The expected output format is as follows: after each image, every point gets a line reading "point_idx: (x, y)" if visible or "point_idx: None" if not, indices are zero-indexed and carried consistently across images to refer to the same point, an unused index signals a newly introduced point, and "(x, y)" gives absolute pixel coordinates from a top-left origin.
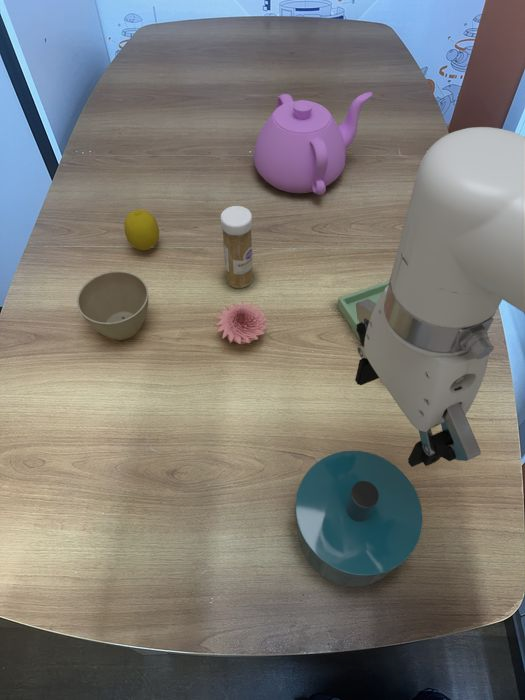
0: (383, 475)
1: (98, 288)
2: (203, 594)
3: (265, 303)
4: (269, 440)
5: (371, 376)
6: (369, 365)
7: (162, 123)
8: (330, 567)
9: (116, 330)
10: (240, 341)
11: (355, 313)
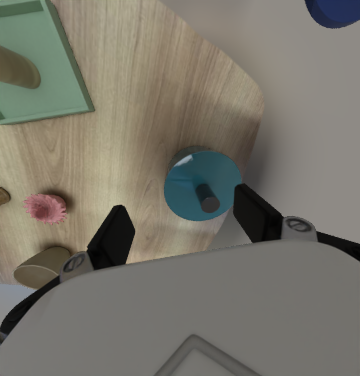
0: (187, 169)
1: (32, 276)
2: (199, 232)
3: (21, 181)
4: (136, 199)
5: (127, 229)
6: (120, 262)
7: None
8: None
9: None
10: (65, 213)
11: (15, 111)
